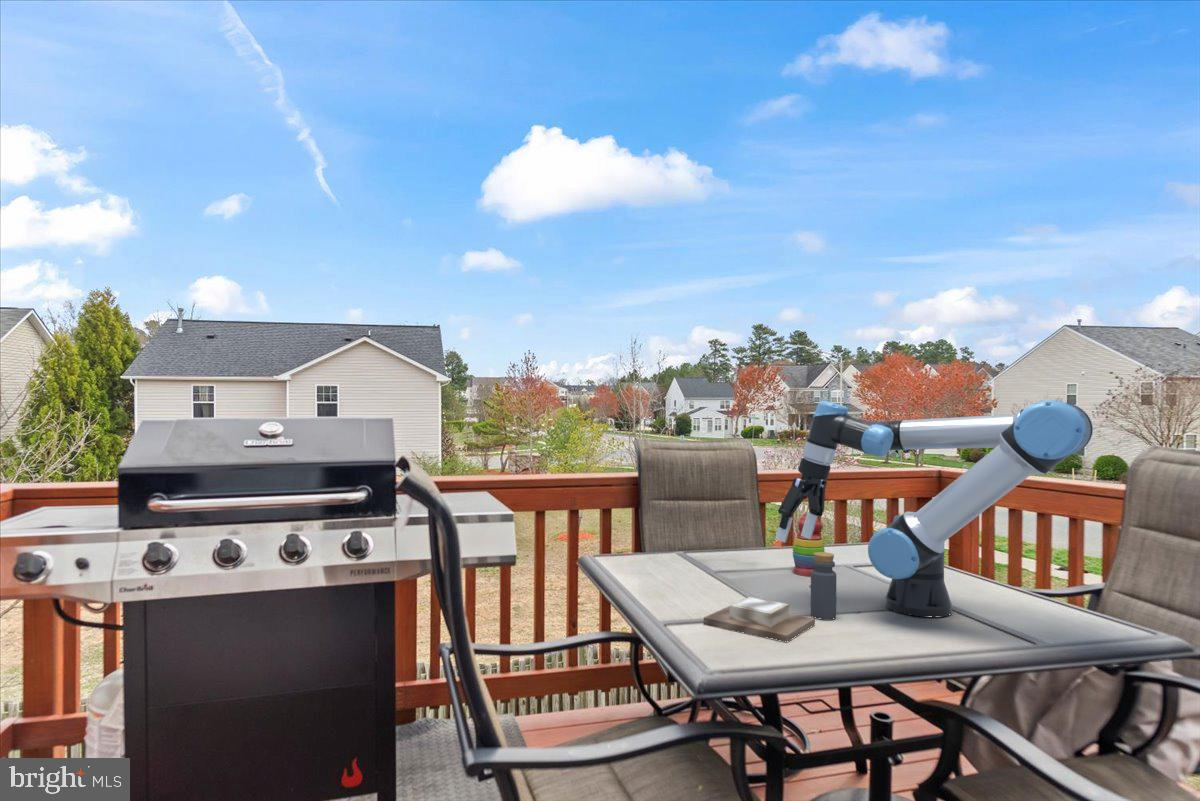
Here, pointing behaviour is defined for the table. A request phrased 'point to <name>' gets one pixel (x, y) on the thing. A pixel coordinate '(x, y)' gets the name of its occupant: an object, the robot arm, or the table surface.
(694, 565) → the table surface
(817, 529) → the stacking bear
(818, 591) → the bottle
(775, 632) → the plinth
